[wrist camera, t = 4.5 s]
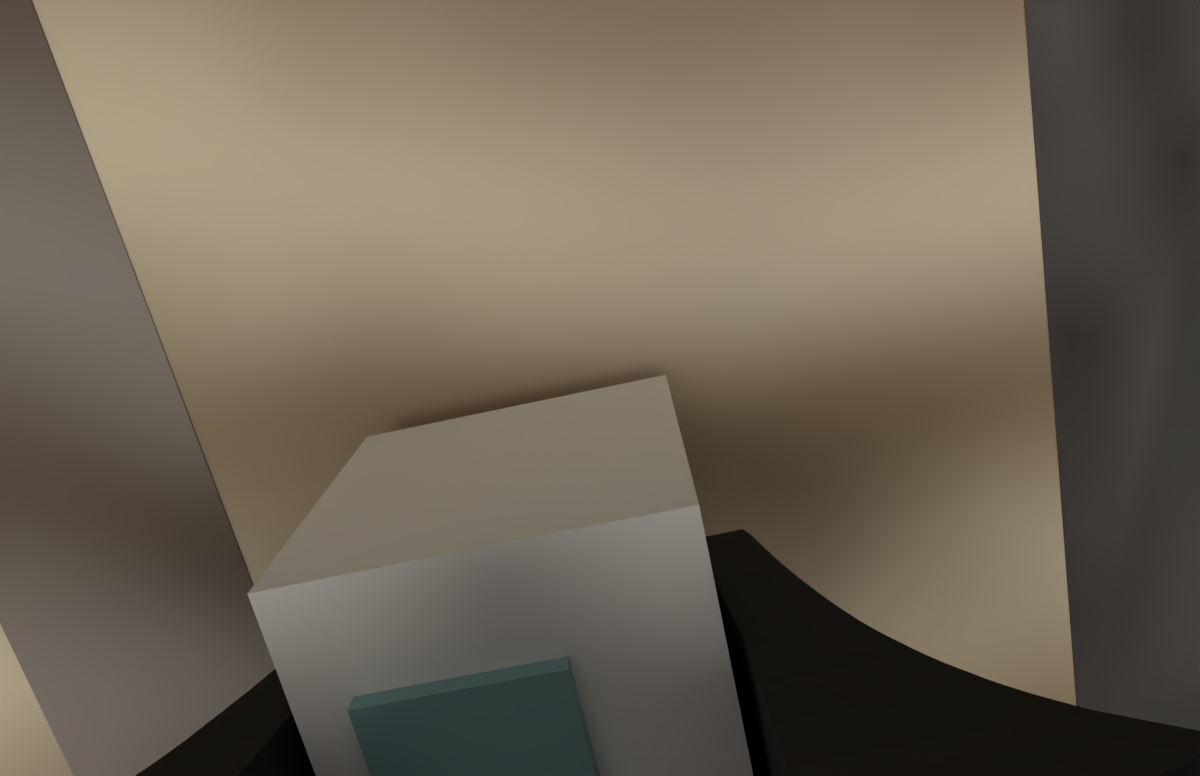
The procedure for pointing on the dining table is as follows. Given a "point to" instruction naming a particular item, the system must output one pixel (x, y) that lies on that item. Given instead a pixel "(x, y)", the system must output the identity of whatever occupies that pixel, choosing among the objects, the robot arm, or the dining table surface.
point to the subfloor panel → (506, 307)
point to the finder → (509, 601)
